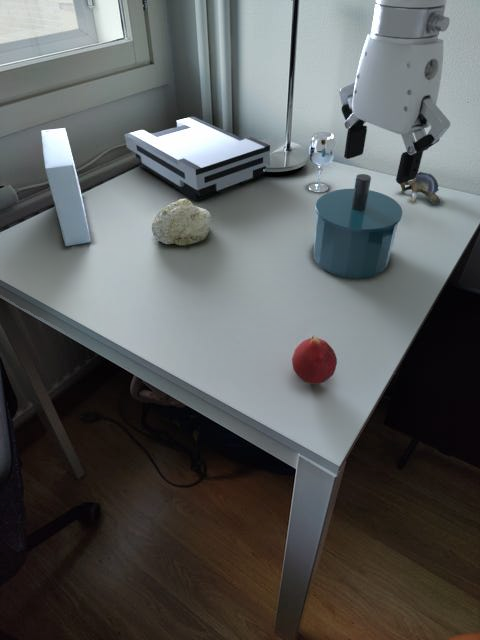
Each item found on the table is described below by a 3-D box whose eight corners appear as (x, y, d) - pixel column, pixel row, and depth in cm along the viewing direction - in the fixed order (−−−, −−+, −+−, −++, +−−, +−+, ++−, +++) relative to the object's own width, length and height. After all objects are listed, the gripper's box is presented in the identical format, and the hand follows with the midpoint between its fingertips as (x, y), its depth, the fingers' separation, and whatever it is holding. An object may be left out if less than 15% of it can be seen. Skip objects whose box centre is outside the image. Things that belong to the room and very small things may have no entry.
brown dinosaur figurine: (392, 198, 101) (435, 201, 96) (399, 164, 100) (443, 165, 95) (401, 204, 107) (442, 207, 102) (408, 172, 106) (449, 174, 101)
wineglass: (313, 180, 111) (318, 129, 103) (335, 186, 108) (341, 134, 100) (301, 189, 107) (305, 137, 99) (323, 195, 105) (329, 142, 97)
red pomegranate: (336, 369, 65) (344, 327, 60) (328, 400, 61) (336, 358, 56) (296, 360, 66) (300, 318, 61) (285, 390, 62) (289, 348, 57)
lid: (418, 216, 79) (428, 179, 75) (362, 245, 72) (369, 206, 68) (353, 187, 88) (358, 152, 83) (297, 211, 81) (300, 174, 77)
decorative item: (182, 243, 83) (144, 207, 84) (177, 269, 91) (143, 236, 92) (228, 211, 88) (191, 178, 90) (219, 238, 96) (186, 207, 98)
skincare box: (94, 242, 91) (73, 164, 81) (65, 247, 90) (41, 169, 80) (83, 196, 106) (64, 125, 96) (59, 201, 105) (37, 129, 94)
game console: (194, 142, 131) (192, 111, 125) (269, 179, 112) (270, 145, 106) (129, 161, 121) (123, 129, 116) (198, 205, 102) (195, 169, 97)
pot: (403, 259, 85) (415, 212, 79) (353, 288, 79) (362, 240, 73) (347, 230, 93) (354, 186, 87) (298, 254, 87) (302, 208, 81)
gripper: (494, 30, 49) (447, 183, 60) (373, 9, 59) (353, 142, 71) (448, 39, 46) (408, 199, 57) (329, 16, 56) (316, 154, 68)
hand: (378, 167), depth 64 cm, fingers open, 9 cm apart
